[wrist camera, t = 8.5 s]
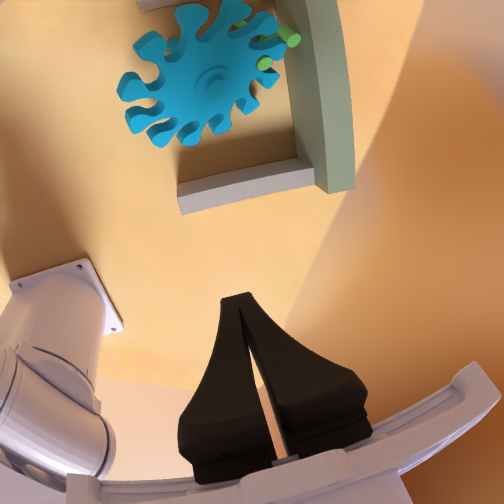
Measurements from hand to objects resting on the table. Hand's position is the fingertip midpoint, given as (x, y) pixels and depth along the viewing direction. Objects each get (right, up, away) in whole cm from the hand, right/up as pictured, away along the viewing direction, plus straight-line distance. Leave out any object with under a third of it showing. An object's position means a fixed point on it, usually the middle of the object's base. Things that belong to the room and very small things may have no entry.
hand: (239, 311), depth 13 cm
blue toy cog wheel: (-2, +14, +4) cm, 15 cm away
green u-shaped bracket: (0, +14, +4) cm, 15 cm away
